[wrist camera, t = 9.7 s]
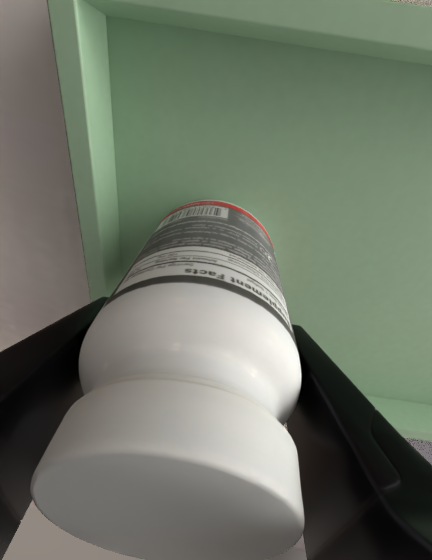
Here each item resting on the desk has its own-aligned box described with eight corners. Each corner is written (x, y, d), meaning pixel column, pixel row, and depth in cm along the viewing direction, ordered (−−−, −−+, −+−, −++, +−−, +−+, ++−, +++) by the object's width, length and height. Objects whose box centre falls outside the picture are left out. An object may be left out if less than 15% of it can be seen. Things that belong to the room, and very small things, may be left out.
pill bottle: (229, 321, 15) (215, 589, 7) (133, 270, 14) (-29, 524, 6) (300, 240, 12) (424, 527, 4) (188, 167, 11) (29, 367, 3)
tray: (119, 360, 18) (103, 393, 16) (86, -18, 9) (37, -56, 7) (533, 421, 18) (571, 462, 16) (940, 114, 9) (1156, 117, 7)
